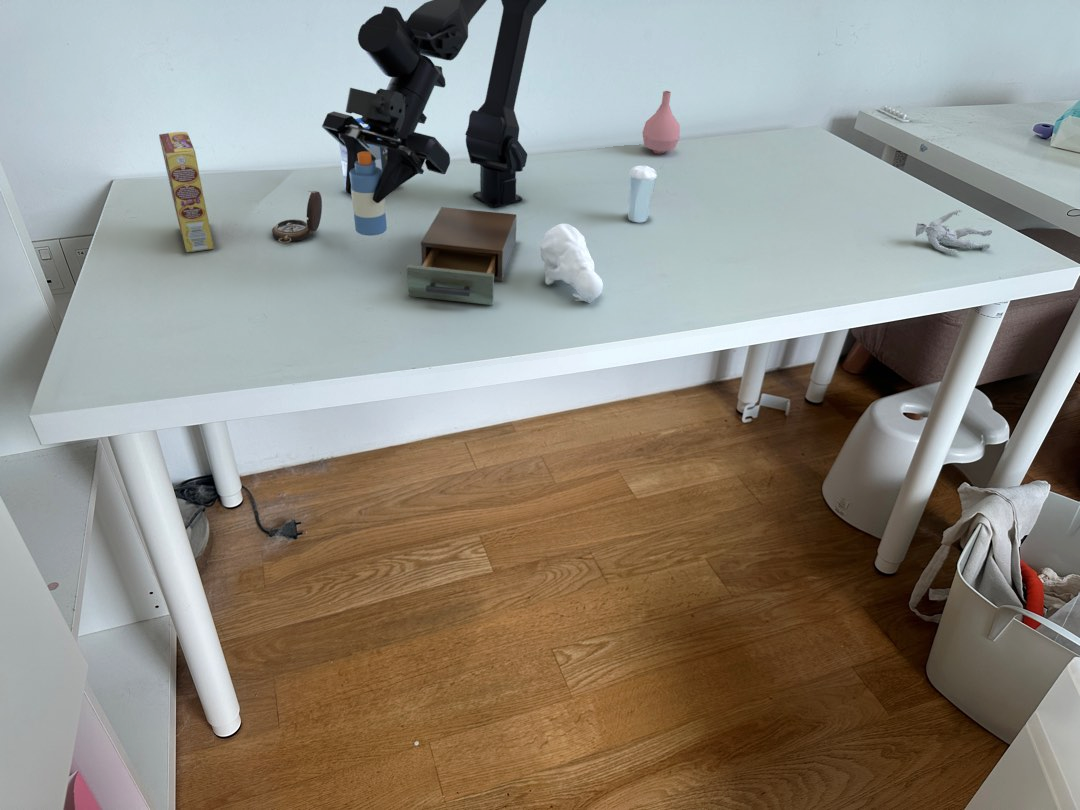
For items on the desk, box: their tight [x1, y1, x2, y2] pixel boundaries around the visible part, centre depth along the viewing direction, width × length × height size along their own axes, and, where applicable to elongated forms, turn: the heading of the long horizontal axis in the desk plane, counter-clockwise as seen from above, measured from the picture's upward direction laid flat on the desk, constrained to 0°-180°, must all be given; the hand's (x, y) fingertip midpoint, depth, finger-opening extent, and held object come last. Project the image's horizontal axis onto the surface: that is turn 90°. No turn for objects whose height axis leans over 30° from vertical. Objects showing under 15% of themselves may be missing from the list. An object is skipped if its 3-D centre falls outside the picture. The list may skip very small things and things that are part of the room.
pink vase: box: [642, 90, 681, 155], centre depth 161 cm, size 8×8×12 cm
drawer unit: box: [420, 206, 517, 282], centre depth 121 cm, size 13×12×5 cm
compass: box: [271, 190, 323, 244], centre depth 123 cm, size 8×8×7 cm
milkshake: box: [627, 164, 664, 224], centre depth 134 cm, size 4×5×10 cm
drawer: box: [406, 248, 498, 306], centre depth 114 cm, size 15×12×4 cm
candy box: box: [158, 131, 214, 253], centre depth 118 cm, size 9×4×15 cm, turn 26°
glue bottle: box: [350, 151, 388, 237], centre depth 110 cm, size 4×4×11 cm
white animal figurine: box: [539, 223, 604, 304], centre depth 113 cm, size 6×8×12 cm
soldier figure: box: [915, 209, 993, 255], centre depth 132 cm, size 8×5×12 cm
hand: (361, 197), depth 109 cm, fingers closed on glue bottle, 4 cm apart
